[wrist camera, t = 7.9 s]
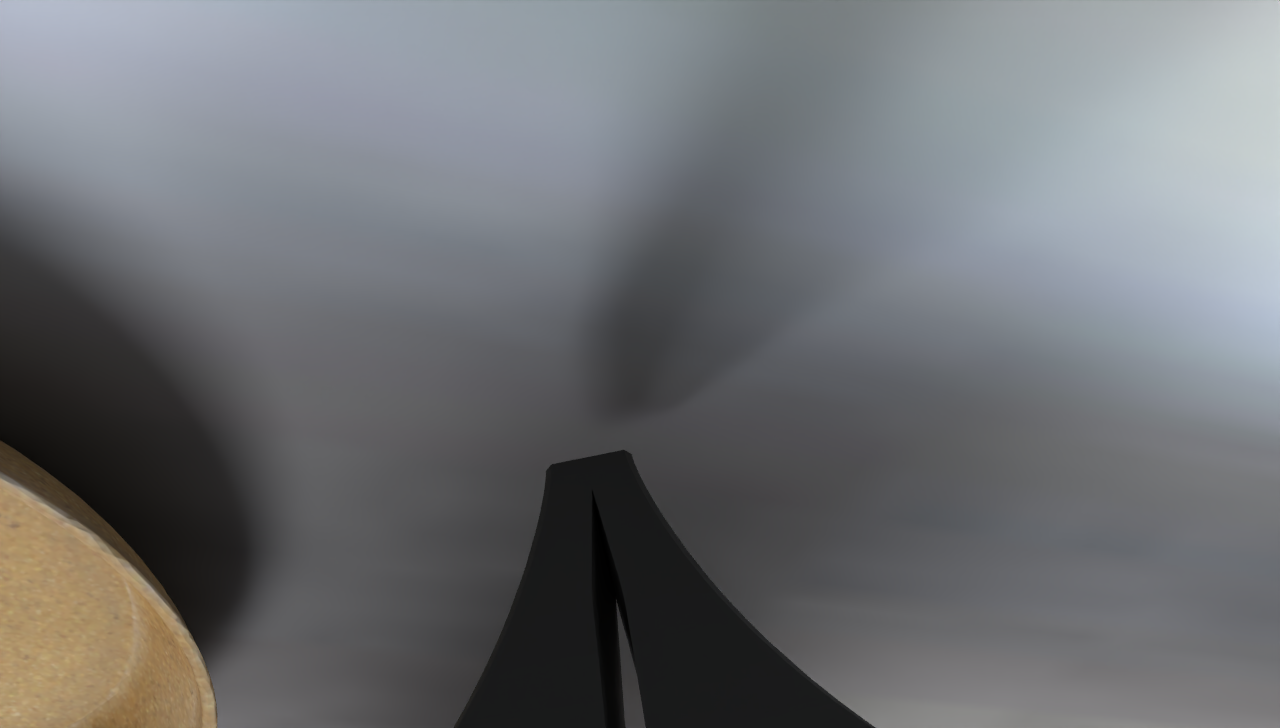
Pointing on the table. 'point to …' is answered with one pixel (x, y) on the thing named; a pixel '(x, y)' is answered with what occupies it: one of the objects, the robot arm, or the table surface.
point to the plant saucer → (86, 619)
